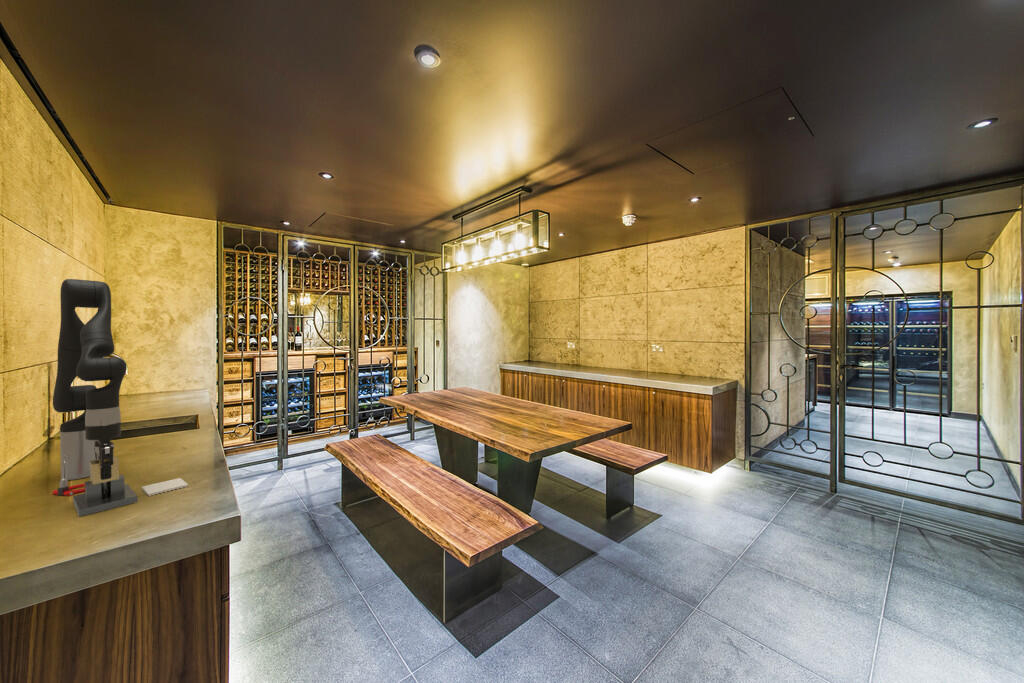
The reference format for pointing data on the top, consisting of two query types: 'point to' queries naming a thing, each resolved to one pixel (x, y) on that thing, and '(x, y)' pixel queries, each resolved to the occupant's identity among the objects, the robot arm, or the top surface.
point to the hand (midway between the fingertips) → (104, 476)
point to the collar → (96, 471)
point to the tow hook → (66, 482)
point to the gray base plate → (103, 496)
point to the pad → (164, 486)
